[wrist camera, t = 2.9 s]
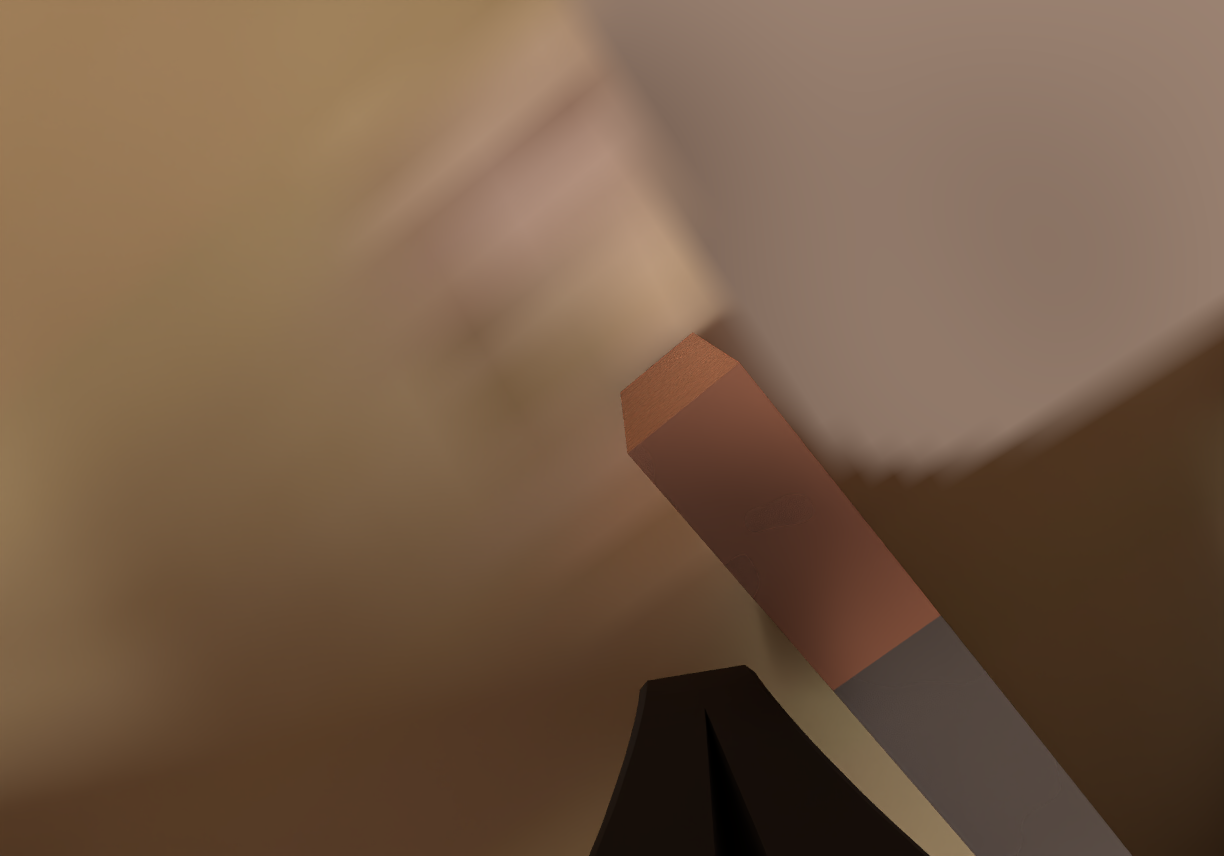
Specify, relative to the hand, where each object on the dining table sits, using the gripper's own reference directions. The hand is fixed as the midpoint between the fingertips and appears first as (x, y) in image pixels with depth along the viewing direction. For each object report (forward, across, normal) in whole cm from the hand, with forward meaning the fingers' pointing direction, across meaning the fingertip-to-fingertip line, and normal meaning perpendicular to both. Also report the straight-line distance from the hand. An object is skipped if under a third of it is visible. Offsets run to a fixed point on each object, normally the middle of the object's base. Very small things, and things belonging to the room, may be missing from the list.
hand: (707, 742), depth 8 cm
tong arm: (+1, -4, +2) cm, 5 cm away
